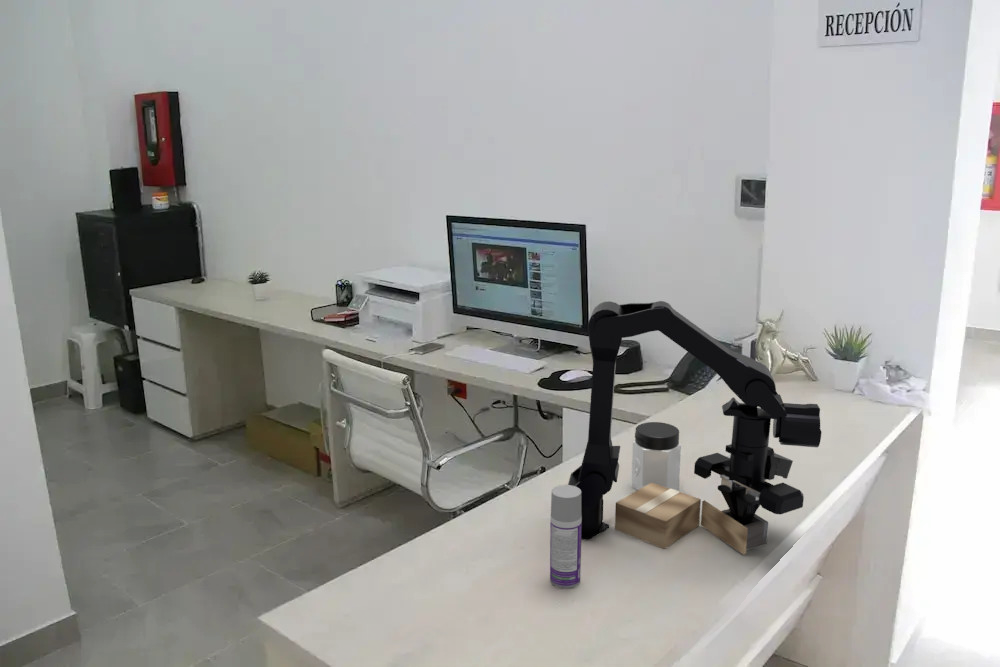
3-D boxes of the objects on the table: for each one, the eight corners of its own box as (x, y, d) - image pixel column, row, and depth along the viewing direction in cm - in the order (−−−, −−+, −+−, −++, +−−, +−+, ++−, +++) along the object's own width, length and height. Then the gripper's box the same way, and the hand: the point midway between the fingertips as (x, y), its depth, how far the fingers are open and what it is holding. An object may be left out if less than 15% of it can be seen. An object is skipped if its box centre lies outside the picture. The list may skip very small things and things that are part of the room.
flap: (766, 548, 137) (768, 522, 136) (743, 554, 135) (745, 528, 134) (723, 519, 147) (724, 495, 145) (700, 525, 145) (702, 500, 143)
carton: (664, 549, 138) (665, 520, 136) (614, 529, 144) (615, 502, 143) (699, 525, 145) (700, 498, 144) (650, 507, 152) (651, 481, 151)
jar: (625, 481, 163) (626, 423, 160) (662, 475, 165) (665, 418, 162) (646, 501, 154) (648, 440, 151) (685, 495, 157) (688, 435, 154)
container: (561, 569, 132) (562, 481, 128) (586, 579, 129) (588, 490, 125) (543, 581, 128) (544, 492, 124) (569, 592, 125) (570, 501, 122)
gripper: (831, 451, 131) (821, 541, 135) (742, 415, 146) (735, 497, 150) (782, 465, 125) (773, 558, 129) (694, 426, 141) (688, 511, 145)
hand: (742, 529), depth 138 cm, fingers closed
